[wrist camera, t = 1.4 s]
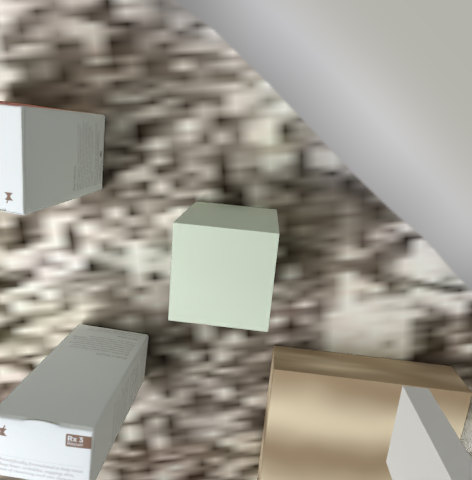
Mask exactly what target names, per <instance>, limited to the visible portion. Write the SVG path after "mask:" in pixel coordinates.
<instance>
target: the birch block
mask: <svg viewBox="0 0 472 480" xmlns="http://www.w3.org/2000/svg"><path fill="white" fill-rule="evenodd" d="M402 386H411V387H419V388H427V389H429V390H430V392H431V393H432V395H433V397H434V398H435V400H436V401H437V403H438V405H439V406H440V408H441V410H442V411H443V413H444V414H445V416H446V418H447V419H448V421H449V423H450V424H451V426H452V427H453V429H454V431H455V432H456V434H457V436H458V437H459V439H461V435H462V431H463V428H464V424H465V420H466V416H467V412H468V408H469V405H470V401H471V397H472V392H471V391H470V389H469V388H468V387H467V386H466V384H465V383H464V382H463V380H462V379H461V378H460V377H459V375H458V374H457V373H456V372H455V370H454V369H453V368H452V366H446V365H438V364H429V363H421V362H412V361H404V360H395V359H386V358H378V357H369V356H361V355H352V354H344V353H335V352H327V351H318V350H310V349H301V348H292V347H284V346H275V345H274V347H273V355H272V363H271V371H270V379H269V388H268V396H267V404H266V412H265V420H264V429H263V437H262V445H261V453H260V461H259V470H258V478H257V480H392V478H391V475H390V472H389V469H388V466H387V463H386V460H387V455H388V451H389V446H390V441H391V437H392V432H393V427H394V423H395V418H396V414H397V409H398V404H399V400H400V395H401V390H402Z"/></svg>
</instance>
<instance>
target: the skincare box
mask: <svg viewBox="0 0 472 480" xmlns="http://www.w3.org/2000/svg"><path fill="white" fill-rule="evenodd" d="M148 339H149V336H148V335H147V334H141V333H135V332H128V331H122V330H115V329H109V328H102V327H96V326H89V325H83V324H79V325H78V326H77V327H76V328H75V329H74V330H73V331H72V332H71V333H70V334H69V335H68V336H67V337H66V338H65V339H64V340H63V341H62V342H61V343H60V344H59V345H58V346H57V347H56V348H55V349H54V350H53V351H52V352H51V353H50V354H49V355H48V356H47V357H46V358H45V359H44V360H43V361H42V362H41V363H40V364H39V365H38V366H37V367H36V368H35V369H34V370H33V371H32V372H31V373H30V374H29V375H28V376H27V377H26V378H25V379H24V380H23V381H22V382H21V383H20V384H19V385H18V386H17V387H16V388H15V389H14V390H13V391H12V392H11V393H10V394H9V395H8V396H7V397H6V398H5V399H4V400H3V401H2V402H1V403H0V475H3V476H10V477H16V478H23V479H29V480H96V478H97V476H98V474H99V472H100V470H101V468H102V466H103V464H104V461H105V459H106V457H107V455H108V453H109V451H110V449H111V447H112V445H113V443H114V440H115V438H116V436H117V434H118V432H119V430H120V428H121V426H122V424H123V422H124V420H125V418H126V416H127V414H128V412H129V410H130V408H131V405H132V403H133V401H134V399H135V397H136V395H137V393H138V391H139V389H140V387H141V385H142V383H143V381H144V378H145V367H146V356H147V347H148Z"/></svg>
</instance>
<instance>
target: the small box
mask: <svg viewBox="0 0 472 480" xmlns="http://www.w3.org/2000/svg"><path fill="white" fill-rule="evenodd" d="M104 129H105V115H104V114H96V113H88V112H80V111H73V110H64V109H57V108H49V107H42V106H35V105H28V104H21V103H13V102H5V101H0V211H4V212H8V213H14V214H19V215H26V214H29V213H32V212H35V211H38V210H41V209H44V208H47V207H50V206H53V205H57V204H60V203H62V202H66V201H69V200H72V199H75V198H78V197H81V196H84V195H87V194H90V193H93V192H96V191H99V190H101V189H102V177H103V153H104Z"/></svg>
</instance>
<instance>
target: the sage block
mask: <svg viewBox="0 0 472 480" xmlns="http://www.w3.org/2000/svg"><path fill="white" fill-rule="evenodd" d="M278 242H279V225H278V216H277V209H267V208H257V207H247V206H237V205H227V204H218V203H208V202H198V201H197V202H195V203H194V204H193V205H192V206H191V207H190V208H189V209H188V210H187V211H186V212H185V213H183V214H182V215H181V216H180V217H179V218H178V219H177V220H176V221H175V222H174V223H173V239H172V257H171V276H170V295H169V313H168V320H170V321H178V322H187V323H196V324H204V325H213V326H222V327H230V328H239V329H248V330H256V331H265V332H268V327H269V318H270V310H271V301H272V293H273V284H274V276H275V267H276V259H277V250H278Z"/></svg>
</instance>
